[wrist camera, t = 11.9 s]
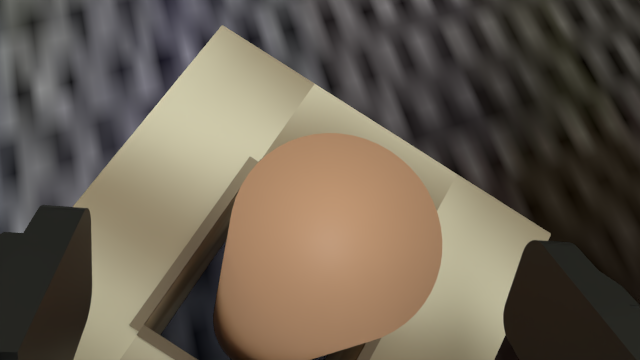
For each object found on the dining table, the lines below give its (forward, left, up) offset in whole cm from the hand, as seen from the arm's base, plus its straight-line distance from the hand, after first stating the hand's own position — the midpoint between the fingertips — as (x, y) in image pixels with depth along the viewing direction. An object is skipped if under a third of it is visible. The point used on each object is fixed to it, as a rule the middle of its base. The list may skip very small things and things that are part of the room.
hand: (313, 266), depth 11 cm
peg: (0, 0, -11) cm, 11 cm away
